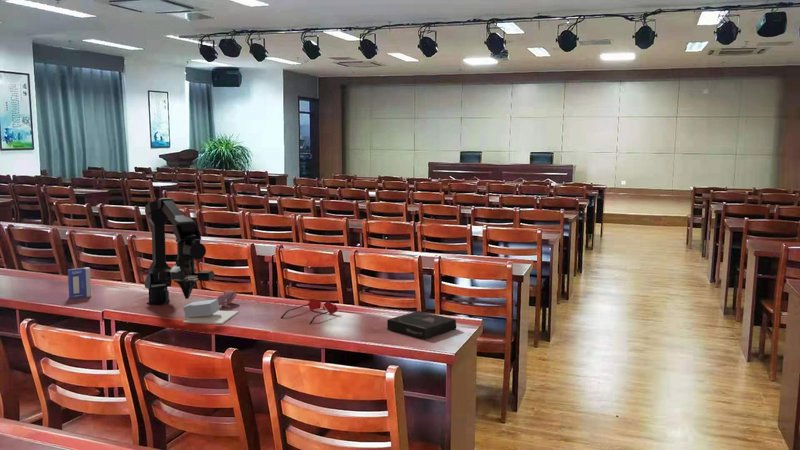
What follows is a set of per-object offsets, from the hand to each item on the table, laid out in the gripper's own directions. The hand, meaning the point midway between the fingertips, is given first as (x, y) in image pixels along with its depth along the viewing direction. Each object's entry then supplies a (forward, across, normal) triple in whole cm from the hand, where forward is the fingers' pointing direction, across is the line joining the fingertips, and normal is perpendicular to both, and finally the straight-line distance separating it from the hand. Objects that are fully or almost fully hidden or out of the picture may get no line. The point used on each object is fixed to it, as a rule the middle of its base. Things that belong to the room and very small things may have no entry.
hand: (187, 298), depth 224 cm
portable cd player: (+8, +85, -4) cm, 85 cm away
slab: (+4, 0, 0) cm, 4 cm away
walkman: (+7, -55, +22) cm, 60 cm away
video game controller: (+7, +7, +18) cm, 21 cm away
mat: (+7, +9, 0) cm, 11 cm away
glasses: (+7, +43, +7) cm, 44 cm away
